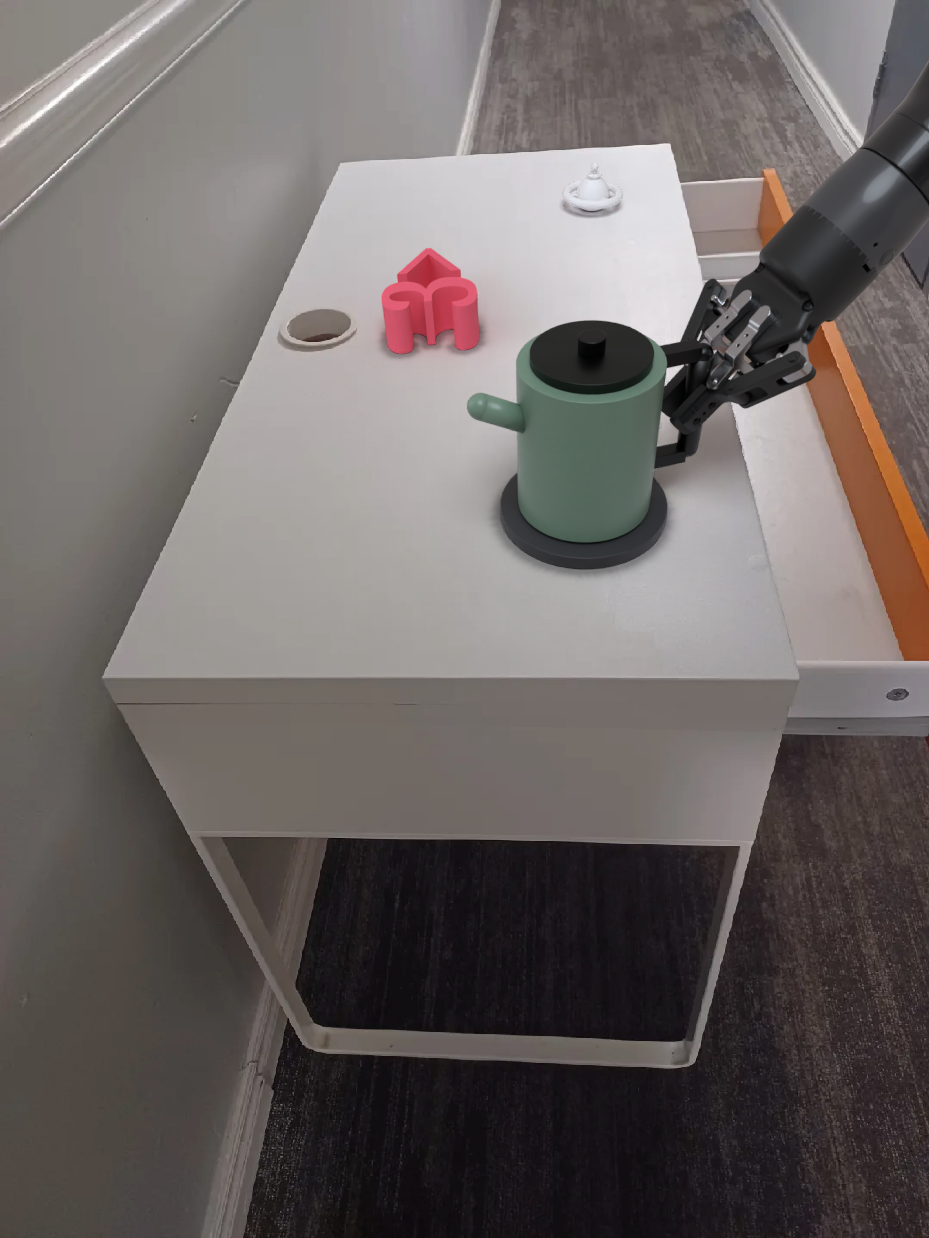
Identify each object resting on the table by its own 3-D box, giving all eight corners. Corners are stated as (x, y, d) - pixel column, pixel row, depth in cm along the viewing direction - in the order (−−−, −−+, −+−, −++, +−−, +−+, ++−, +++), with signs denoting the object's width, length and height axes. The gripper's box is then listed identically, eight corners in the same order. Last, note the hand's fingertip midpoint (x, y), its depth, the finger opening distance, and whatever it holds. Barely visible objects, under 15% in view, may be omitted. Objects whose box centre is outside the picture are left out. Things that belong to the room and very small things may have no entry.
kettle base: (673, 472, 78) (675, 461, 77) (656, 580, 69) (658, 569, 68) (519, 455, 81) (519, 444, 80) (483, 556, 72) (483, 545, 71)
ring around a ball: (611, 224, 114) (629, 201, 119) (615, 178, 109) (634, 156, 114) (552, 215, 116) (572, 192, 121) (555, 170, 112) (575, 148, 117)
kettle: (665, 439, 79) (687, 278, 68) (721, 514, 72) (755, 347, 61) (457, 483, 76) (445, 323, 65) (493, 566, 69) (486, 402, 58)
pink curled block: (390, 292, 104) (385, 250, 101) (476, 287, 104) (474, 245, 100) (385, 354, 95) (380, 311, 91) (480, 349, 94) (478, 305, 91)
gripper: (765, 171, 65) (604, 355, 72) (882, 248, 56) (685, 449, 63) (811, 229, 70) (656, 395, 77) (925, 308, 61) (738, 488, 68)
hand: (670, 419), depth 70 cm, fingers closed on kettle, 2 cm apart
